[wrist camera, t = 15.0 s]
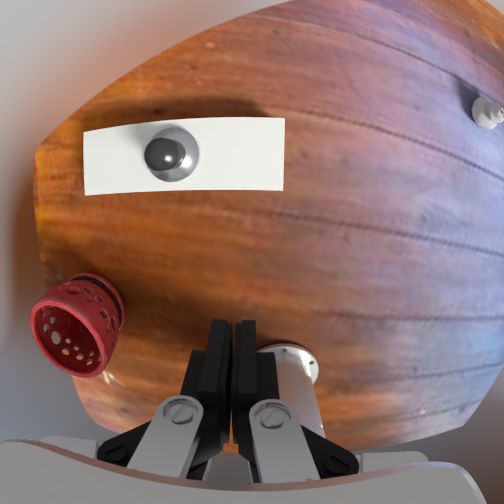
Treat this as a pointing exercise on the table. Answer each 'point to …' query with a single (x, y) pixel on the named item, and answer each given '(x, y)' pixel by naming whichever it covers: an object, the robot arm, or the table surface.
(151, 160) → the silver and black post
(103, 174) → the bar
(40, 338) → the plant pot
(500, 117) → the grey rounded lumpy piece
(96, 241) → the table surface
